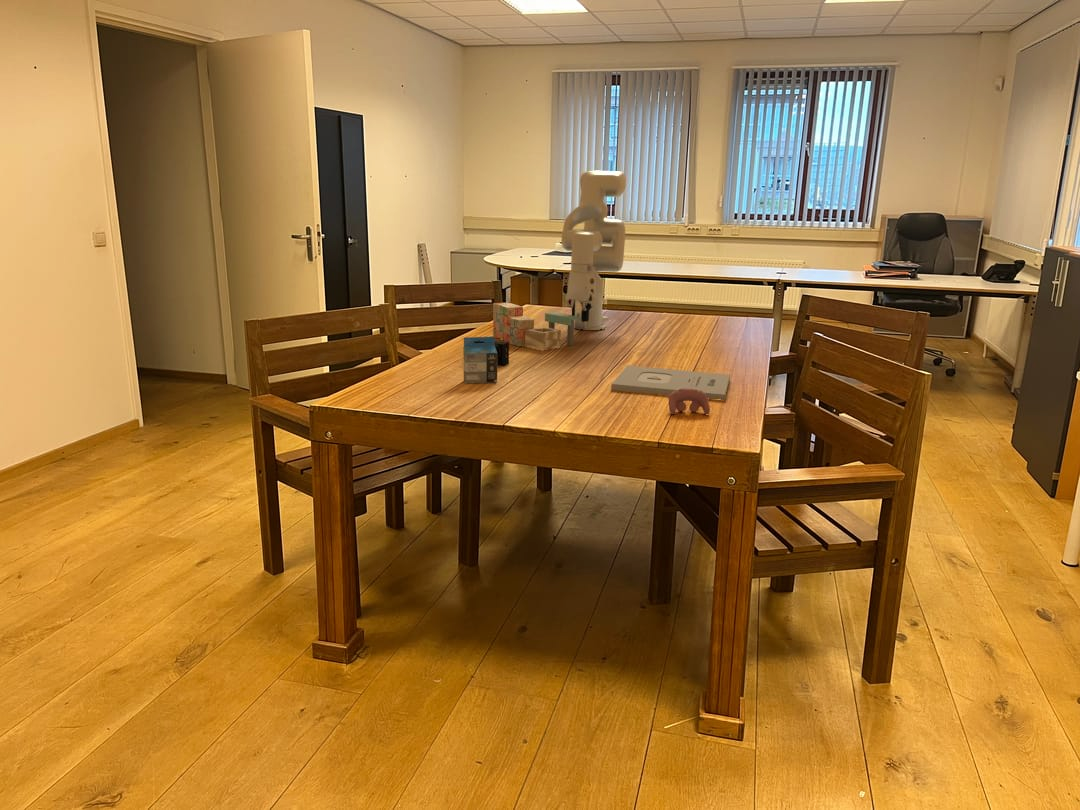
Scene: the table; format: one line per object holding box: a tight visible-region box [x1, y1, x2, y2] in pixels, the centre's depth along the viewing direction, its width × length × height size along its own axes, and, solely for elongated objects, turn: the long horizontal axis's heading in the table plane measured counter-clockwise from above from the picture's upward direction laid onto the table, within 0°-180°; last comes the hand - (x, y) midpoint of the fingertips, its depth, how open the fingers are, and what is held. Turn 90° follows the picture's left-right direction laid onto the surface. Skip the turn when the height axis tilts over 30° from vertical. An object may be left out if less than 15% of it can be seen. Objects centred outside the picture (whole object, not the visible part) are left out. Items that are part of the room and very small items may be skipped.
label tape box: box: [462, 336, 498, 384], centre depth 214 cm, size 9×4×12 cm, turn 105°
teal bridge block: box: [544, 311, 578, 346], centre depth 271 cm, size 4×12×10 cm, turn 46°
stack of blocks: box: [492, 302, 535, 348], centre depth 273 cm, size 21×6×12 cm, turn 26°
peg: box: [574, 300, 586, 330], centre depth 275 cm, size 4×4×10 cm
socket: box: [524, 326, 562, 352], centre depth 264 cm, size 9×8×6 cm
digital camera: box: [474, 339, 510, 367], centre depth 237 cm, size 10×5×7 cm, turn 65°
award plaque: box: [610, 365, 731, 400], centre depth 217 cm, size 25×30×2 cm
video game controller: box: [668, 389, 711, 415], centre depth 190 cm, size 10×5×7 cm, turn 92°
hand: (580, 319), depth 276 cm, fingers closed on peg, 4 cm apart
